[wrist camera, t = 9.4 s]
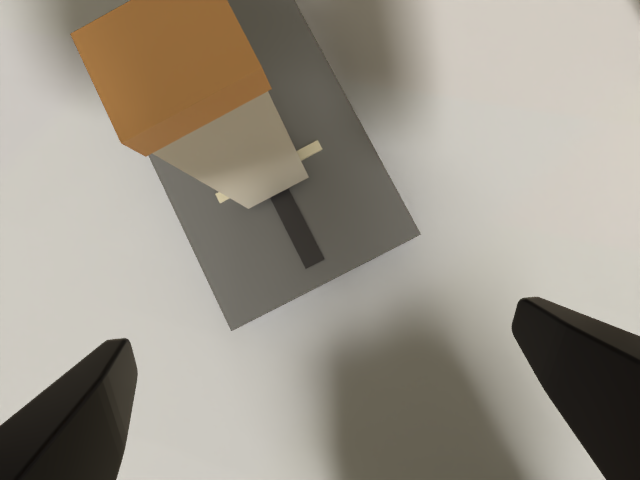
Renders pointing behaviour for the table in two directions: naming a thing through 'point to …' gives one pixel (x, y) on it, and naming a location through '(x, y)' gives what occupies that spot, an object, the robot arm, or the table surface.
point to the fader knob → (191, 94)
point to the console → (300, 199)
